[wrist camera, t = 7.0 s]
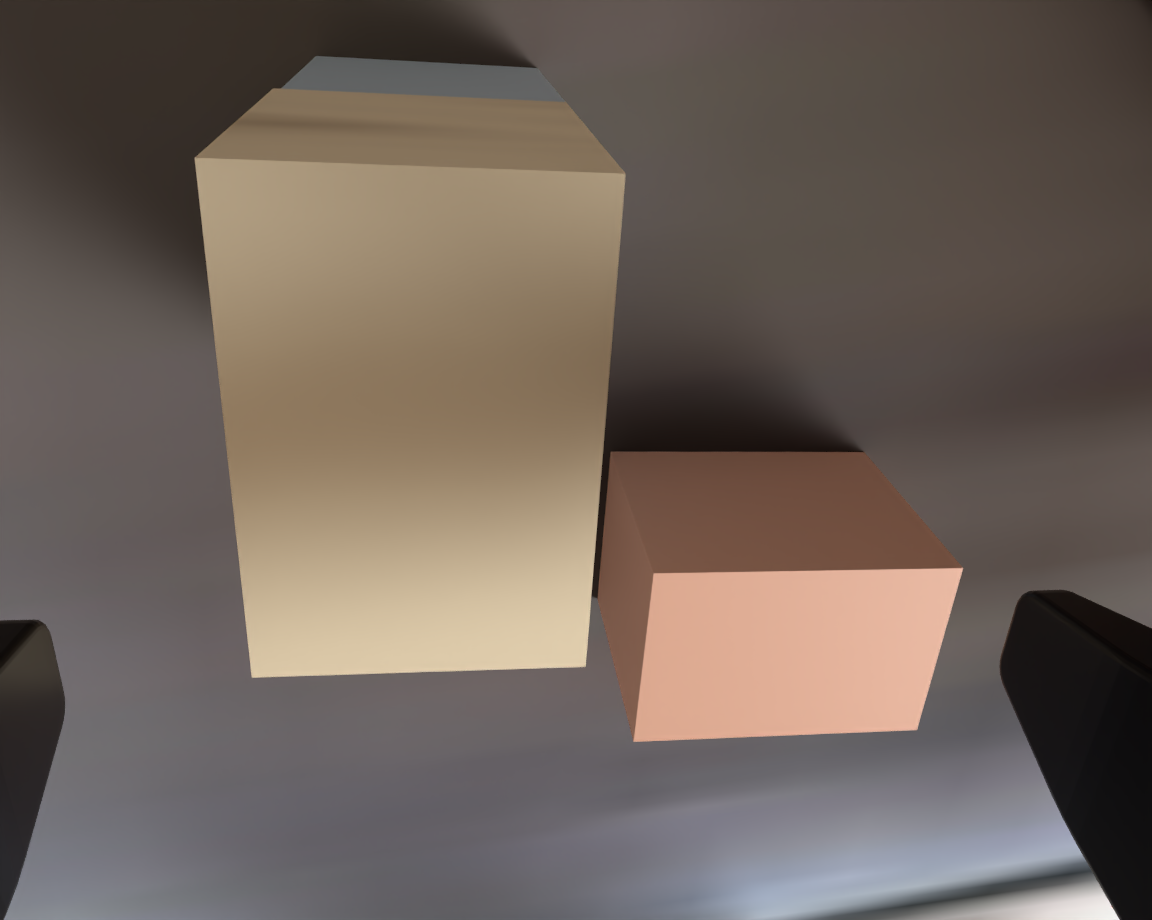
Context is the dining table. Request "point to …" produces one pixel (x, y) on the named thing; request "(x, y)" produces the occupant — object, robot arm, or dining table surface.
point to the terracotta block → (768, 595)
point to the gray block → (423, 79)
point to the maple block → (412, 375)
